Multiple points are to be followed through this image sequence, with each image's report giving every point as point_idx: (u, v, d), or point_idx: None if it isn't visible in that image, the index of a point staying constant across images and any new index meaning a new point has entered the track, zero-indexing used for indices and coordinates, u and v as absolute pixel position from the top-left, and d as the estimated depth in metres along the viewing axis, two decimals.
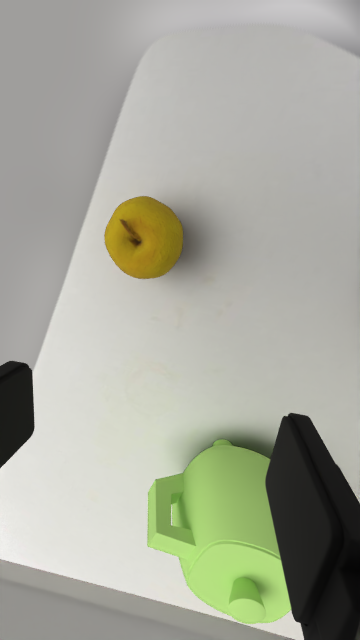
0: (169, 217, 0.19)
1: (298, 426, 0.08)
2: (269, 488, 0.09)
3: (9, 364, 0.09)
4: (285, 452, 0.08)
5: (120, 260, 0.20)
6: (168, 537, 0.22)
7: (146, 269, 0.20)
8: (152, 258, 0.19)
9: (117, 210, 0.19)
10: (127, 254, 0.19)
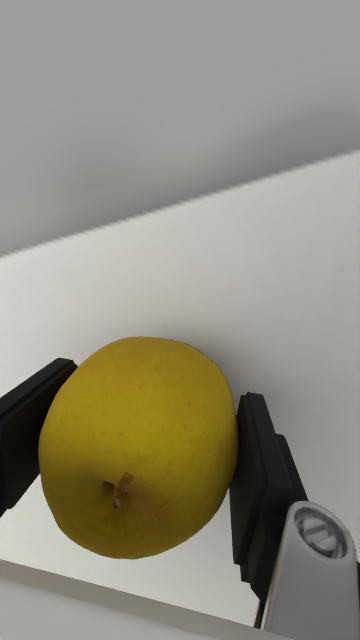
0: (222, 501, 0.07)
1: (250, 402, 0.09)
2: None
3: (58, 360, 0.10)
4: (240, 426, 0.09)
5: (46, 484, 0.07)
6: None
7: None
8: (110, 556, 0.07)
9: (142, 412, 0.06)
10: (68, 501, 0.07)
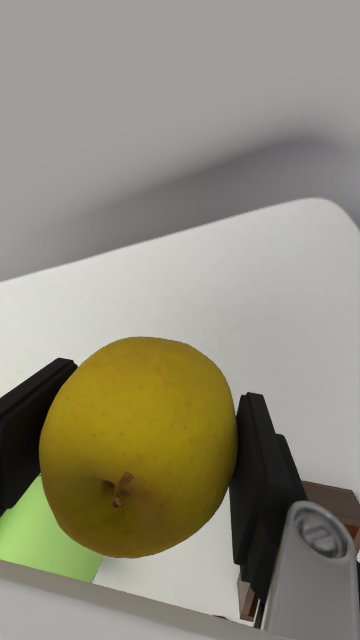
0: (222, 500, 0.07)
1: (250, 402, 0.09)
2: None
3: (58, 361, 0.10)
4: (240, 426, 0.09)
5: (46, 484, 0.07)
6: None
7: None
8: (111, 555, 0.07)
9: (142, 412, 0.06)
10: (69, 501, 0.07)
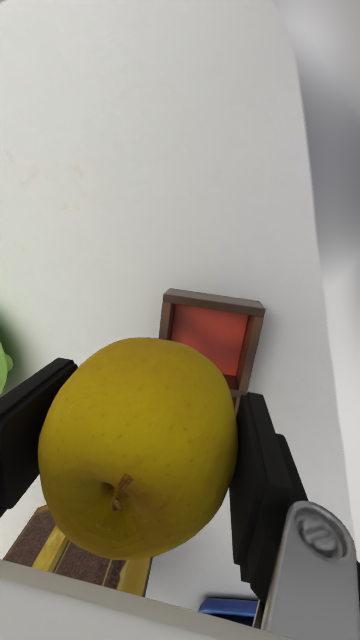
0: (222, 502, 0.07)
1: (250, 402, 0.09)
2: None
3: (58, 360, 0.10)
4: (240, 426, 0.09)
5: (45, 486, 0.07)
6: None
7: None
8: (110, 557, 0.07)
9: (141, 413, 0.06)
10: (68, 503, 0.07)
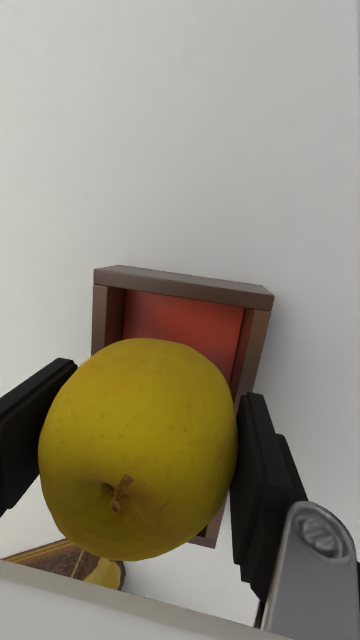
0: (222, 503, 0.07)
1: (250, 402, 0.09)
2: None
3: (58, 360, 0.10)
4: (240, 426, 0.09)
5: (45, 486, 0.07)
6: None
7: None
8: (110, 558, 0.07)
9: (141, 414, 0.06)
10: (68, 503, 0.07)
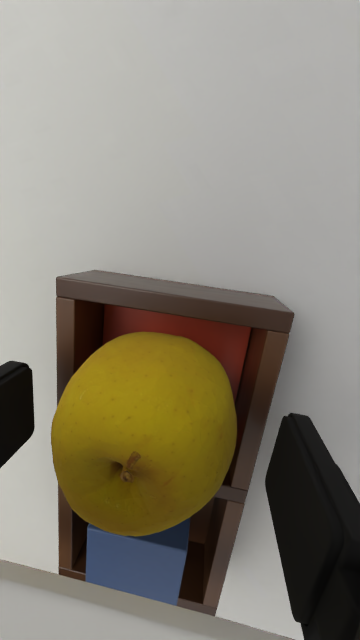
0: (221, 483, 0.08)
1: (298, 426, 0.08)
2: (269, 488, 0.09)
3: (9, 364, 0.09)
4: (285, 452, 0.08)
5: (58, 466, 0.07)
6: None
7: None
8: (118, 532, 0.07)
9: (148, 397, 0.07)
10: (80, 481, 0.07)
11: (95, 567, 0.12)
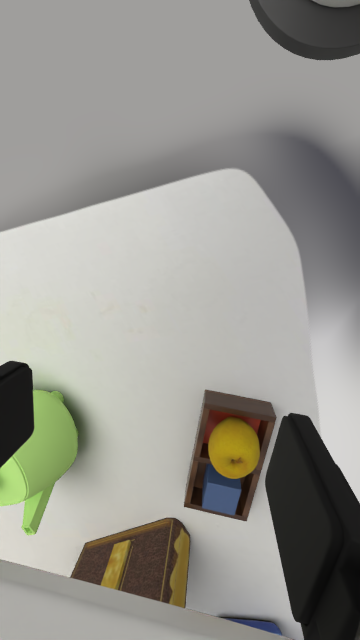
0: (256, 465, 0.31)
1: (298, 426, 0.08)
2: (269, 488, 0.09)
3: (9, 364, 0.09)
4: (285, 452, 0.08)
5: (217, 460, 0.30)
6: None
7: (223, 475, 0.30)
8: (231, 477, 0.30)
9: (242, 444, 0.29)
10: (223, 464, 0.30)
11: (207, 497, 0.34)
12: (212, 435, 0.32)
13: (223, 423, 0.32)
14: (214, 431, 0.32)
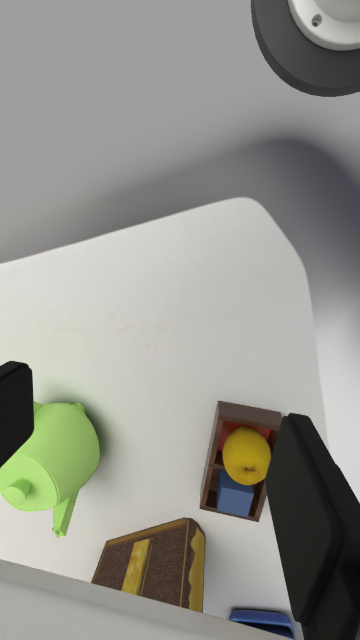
0: None
1: (298, 426, 0.08)
2: (269, 488, 0.09)
3: (9, 364, 0.09)
4: (285, 452, 0.08)
5: (232, 468, 0.33)
6: None
7: (237, 481, 0.33)
8: (245, 483, 0.33)
9: (254, 454, 0.32)
10: (238, 472, 0.32)
11: (222, 500, 0.37)
12: (226, 444, 0.35)
13: (236, 433, 0.35)
14: (228, 441, 0.35)
